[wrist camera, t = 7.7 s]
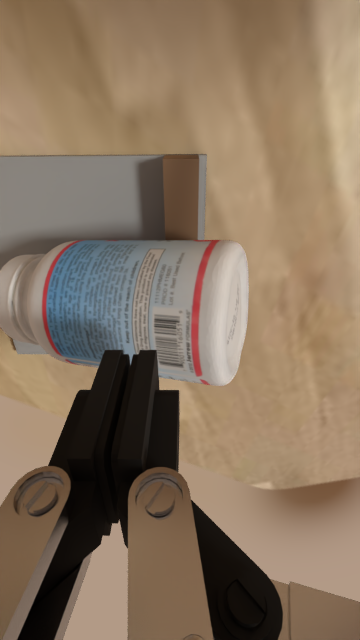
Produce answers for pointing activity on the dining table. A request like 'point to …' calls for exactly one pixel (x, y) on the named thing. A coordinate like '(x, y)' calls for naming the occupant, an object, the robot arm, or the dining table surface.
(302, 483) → the dining table surface
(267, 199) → the dining table surface
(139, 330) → the pill bottle
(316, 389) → the dining table surface
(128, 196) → the mat
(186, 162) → the stop bar
